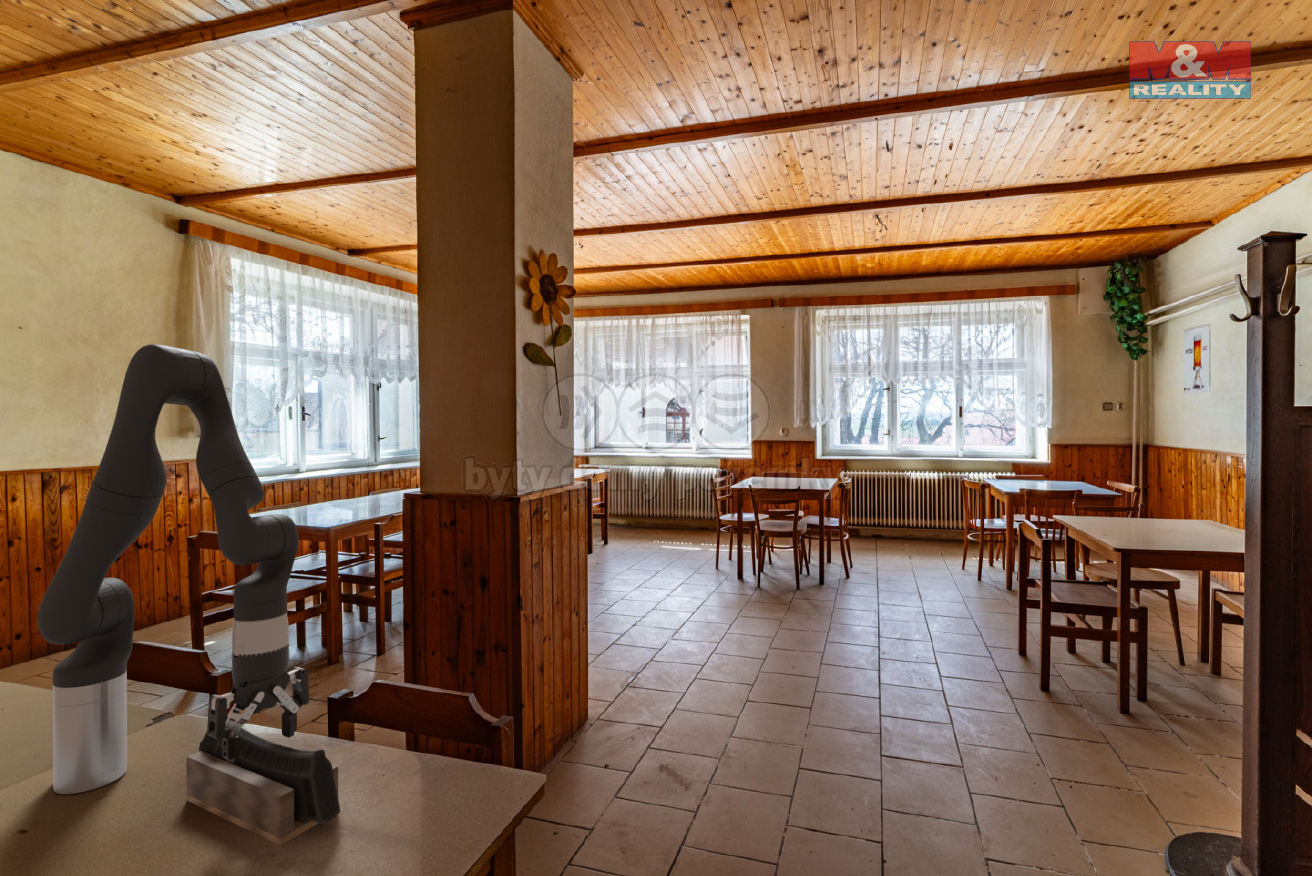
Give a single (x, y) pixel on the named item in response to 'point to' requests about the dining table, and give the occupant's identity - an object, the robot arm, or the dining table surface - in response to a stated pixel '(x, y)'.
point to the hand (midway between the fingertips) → (261, 747)
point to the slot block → (245, 797)
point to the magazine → (287, 772)
